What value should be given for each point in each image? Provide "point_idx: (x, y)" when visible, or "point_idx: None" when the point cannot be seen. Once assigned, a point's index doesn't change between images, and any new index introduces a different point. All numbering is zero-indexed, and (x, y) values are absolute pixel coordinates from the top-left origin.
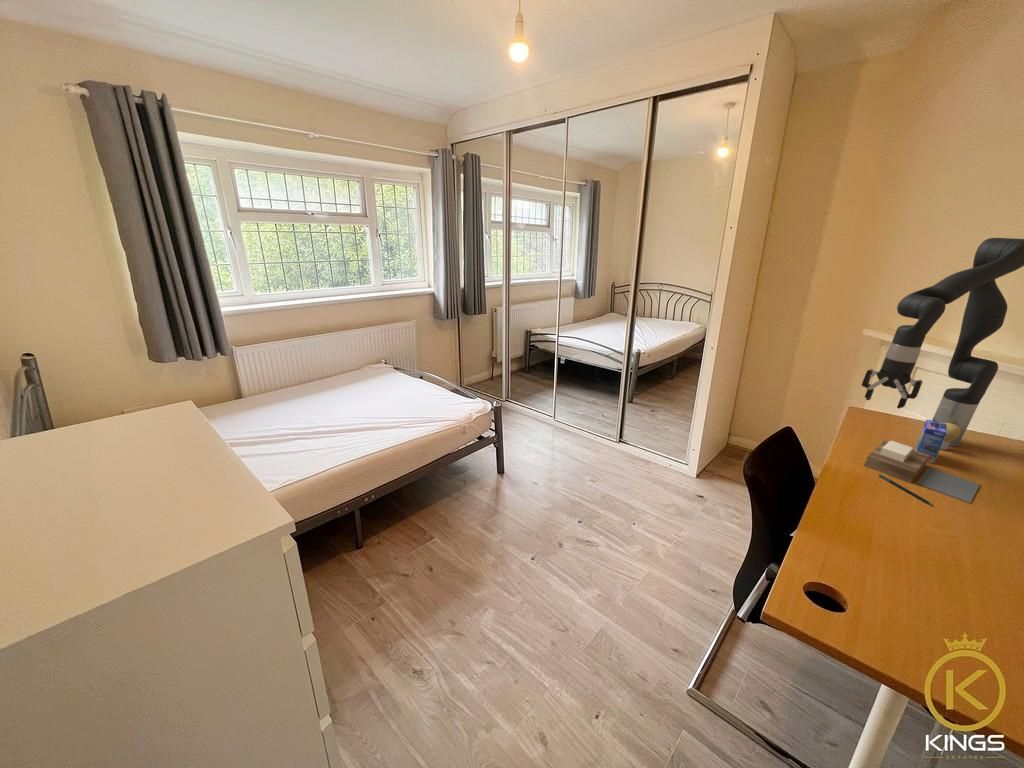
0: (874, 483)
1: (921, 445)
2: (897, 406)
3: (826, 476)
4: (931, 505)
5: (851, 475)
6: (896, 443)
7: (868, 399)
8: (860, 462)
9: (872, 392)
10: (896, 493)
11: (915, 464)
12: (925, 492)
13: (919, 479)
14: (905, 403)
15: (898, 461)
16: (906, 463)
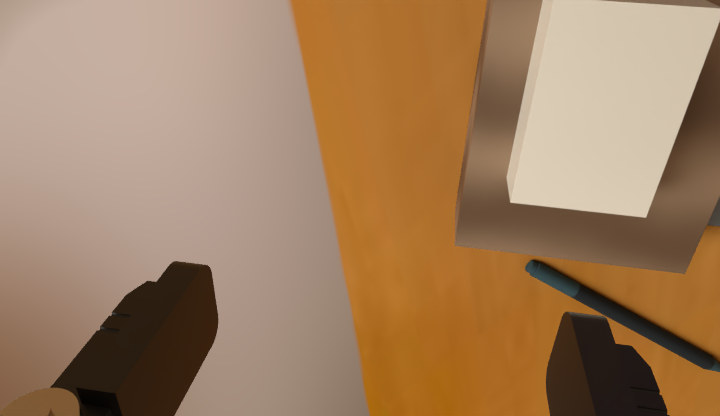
0: (515, 338)
1: None
2: (550, 405)
3: (366, 395)
4: (717, 370)
5: (431, 334)
6: (597, 31)
7: (208, 341)
8: (435, 184)
9: (153, 381)
10: None
11: (703, 168)
12: (716, 276)
13: None
14: (661, 408)
15: None
16: None
